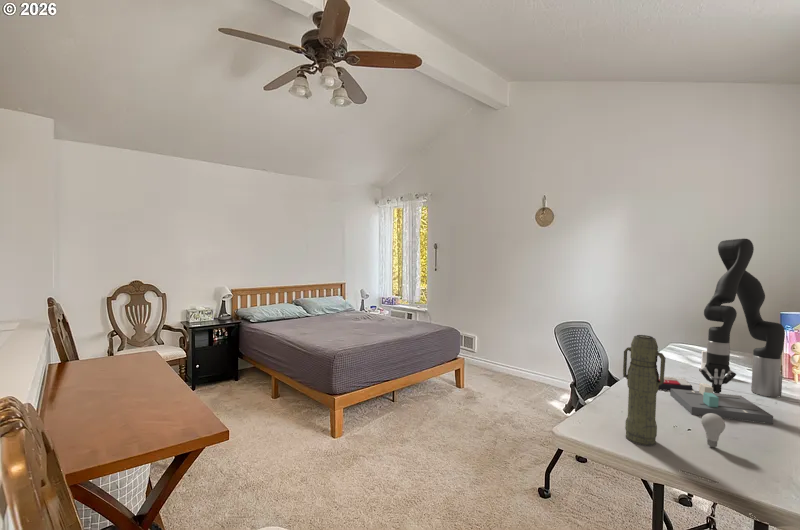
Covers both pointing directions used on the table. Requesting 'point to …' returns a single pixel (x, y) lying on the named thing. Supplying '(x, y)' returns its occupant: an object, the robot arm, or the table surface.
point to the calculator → (675, 384)
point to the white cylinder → (704, 361)
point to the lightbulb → (713, 428)
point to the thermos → (643, 389)
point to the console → (721, 406)
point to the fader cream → (705, 388)
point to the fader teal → (710, 399)
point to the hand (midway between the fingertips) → (716, 392)
